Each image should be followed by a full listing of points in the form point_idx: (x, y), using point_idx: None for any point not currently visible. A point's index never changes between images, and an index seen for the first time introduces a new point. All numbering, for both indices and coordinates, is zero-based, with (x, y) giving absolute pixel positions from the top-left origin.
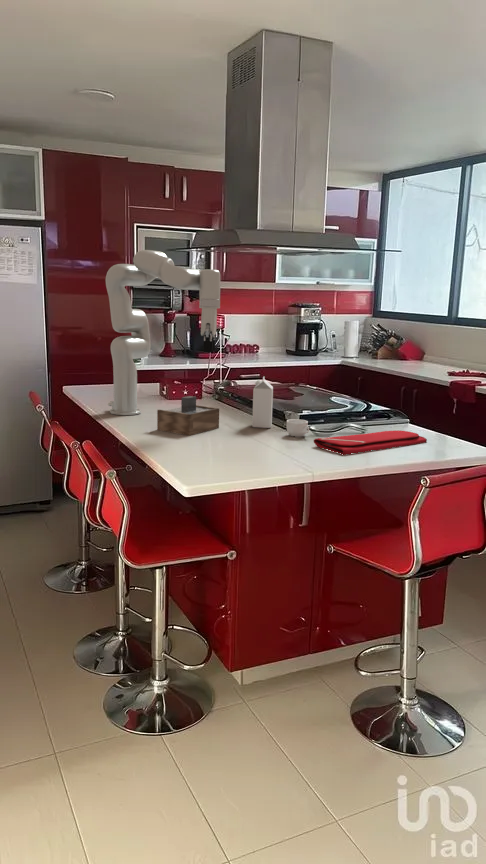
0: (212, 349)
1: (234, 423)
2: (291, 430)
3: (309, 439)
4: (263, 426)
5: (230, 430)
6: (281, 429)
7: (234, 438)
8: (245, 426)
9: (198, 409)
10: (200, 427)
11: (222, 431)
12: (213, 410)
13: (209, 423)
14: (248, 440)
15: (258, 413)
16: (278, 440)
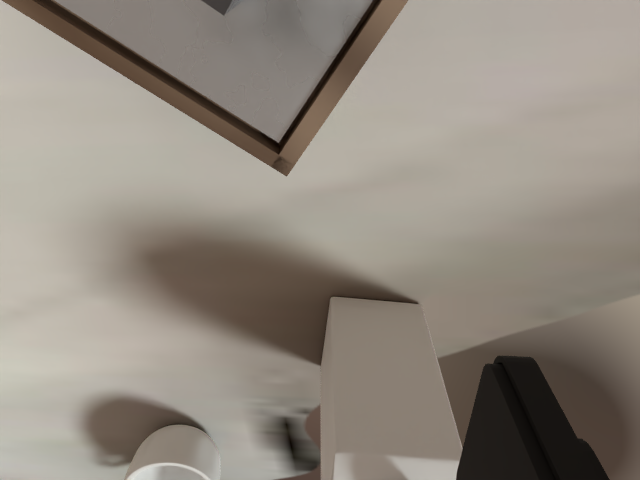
0: (464, 463)
1: (435, 214)
2: (139, 448)
3: (125, 474)
4: (324, 344)
5: (237, 195)
6: (304, 403)
7: (42, 216)
8: (356, 266)
9: (268, 22)
10: None
11: (201, 155)
12: (227, 137)
13: None
14: (21, 275)
15: (328, 366)
16: (67, 382)
